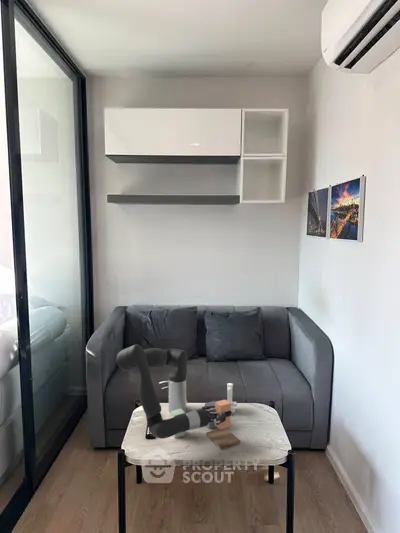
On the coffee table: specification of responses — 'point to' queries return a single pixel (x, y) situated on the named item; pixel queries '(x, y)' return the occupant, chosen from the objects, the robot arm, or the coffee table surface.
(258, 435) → the coffee table surface
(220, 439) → the walnut board
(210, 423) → the charcoal brick
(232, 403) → the figurine
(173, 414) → the sage brick
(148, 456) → the coffee table surface
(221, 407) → the terracotta brick
